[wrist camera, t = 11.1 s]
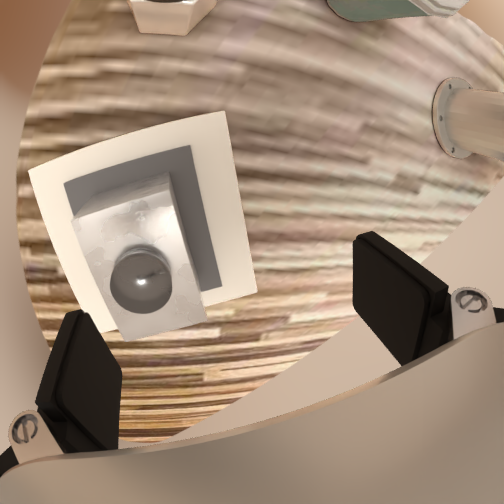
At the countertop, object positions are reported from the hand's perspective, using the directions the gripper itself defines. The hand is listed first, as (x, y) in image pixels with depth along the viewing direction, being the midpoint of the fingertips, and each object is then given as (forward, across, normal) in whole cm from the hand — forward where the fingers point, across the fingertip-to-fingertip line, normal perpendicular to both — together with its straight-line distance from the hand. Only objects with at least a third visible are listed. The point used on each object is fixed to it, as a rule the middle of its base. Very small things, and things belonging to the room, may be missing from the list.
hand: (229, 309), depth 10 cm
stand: (+23, +5, +2) cm, 23 cm away
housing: (+14, +5, +2) cm, 15 cm away
